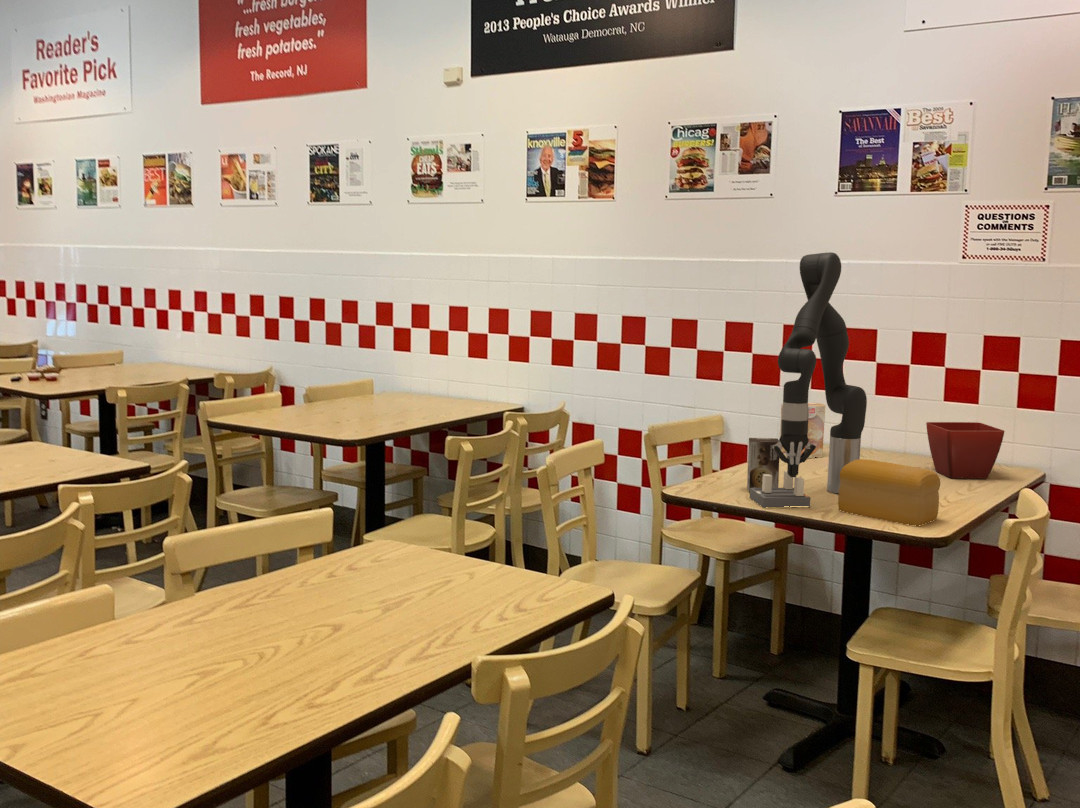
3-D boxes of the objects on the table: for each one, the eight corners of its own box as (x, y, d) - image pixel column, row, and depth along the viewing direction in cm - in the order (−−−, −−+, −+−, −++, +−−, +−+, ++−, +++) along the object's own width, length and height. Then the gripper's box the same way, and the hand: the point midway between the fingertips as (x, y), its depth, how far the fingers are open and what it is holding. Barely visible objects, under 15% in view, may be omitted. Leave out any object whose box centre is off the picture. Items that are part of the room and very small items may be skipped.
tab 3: (800, 493, 309) (801, 477, 308) (803, 495, 306) (804, 479, 306) (793, 494, 309) (794, 477, 308) (796, 496, 306) (797, 479, 306)
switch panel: (794, 497, 319) (795, 487, 319) (810, 507, 306) (810, 497, 306) (749, 497, 318) (749, 487, 317) (763, 508, 305) (763, 497, 304)
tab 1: (768, 490, 313) (769, 474, 312) (771, 492, 310) (772, 476, 309) (761, 490, 312) (762, 474, 312) (764, 492, 310) (765, 476, 309)
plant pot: (921, 469, 366) (925, 421, 364) (976, 469, 367) (979, 421, 364) (944, 481, 347) (948, 430, 345) (1002, 481, 348) (1006, 431, 346)
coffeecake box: (790, 460, 378) (792, 406, 375) (777, 456, 384) (780, 403, 382) (823, 457, 384) (826, 404, 381) (810, 454, 390) (813, 401, 388)
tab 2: (789, 487, 318) (790, 470, 317) (792, 489, 315) (793, 472, 315) (783, 487, 318) (784, 470, 317) (786, 489, 315) (787, 472, 314)
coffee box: (775, 488, 331) (778, 438, 328) (778, 493, 324) (780, 441, 322) (746, 487, 331) (748, 437, 329) (748, 492, 325) (750, 440, 323)
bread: (938, 519, 295) (942, 467, 293) (917, 527, 286) (921, 473, 284) (858, 504, 312) (861, 454, 310) (836, 511, 303) (839, 459, 301)
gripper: (812, 415, 308) (809, 473, 311) (768, 416, 307) (766, 474, 309) (822, 419, 301) (819, 479, 304) (777, 420, 299) (774, 480, 302)
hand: (792, 476), depth 306 cm, fingers closed
